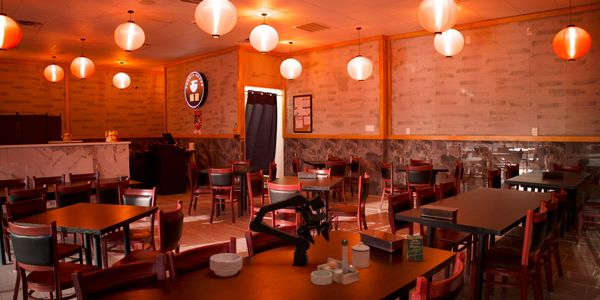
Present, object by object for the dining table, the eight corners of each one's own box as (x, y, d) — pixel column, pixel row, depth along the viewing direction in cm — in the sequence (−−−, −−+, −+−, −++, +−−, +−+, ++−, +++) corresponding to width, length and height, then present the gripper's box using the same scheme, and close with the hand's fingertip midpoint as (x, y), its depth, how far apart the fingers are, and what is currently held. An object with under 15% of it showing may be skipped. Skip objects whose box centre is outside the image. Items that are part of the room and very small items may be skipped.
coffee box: (407, 261, 226) (407, 236, 225) (406, 259, 229) (406, 234, 228) (423, 261, 225) (423, 236, 224) (422, 260, 228) (422, 235, 227)
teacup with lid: (372, 267, 216) (372, 244, 216) (355, 269, 214) (355, 245, 214) (363, 260, 228) (363, 238, 227) (347, 261, 226) (347, 239, 225)
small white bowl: (308, 283, 194) (308, 275, 194) (315, 277, 203) (315, 269, 203) (328, 286, 191) (328, 278, 191) (334, 279, 200) (334, 271, 199)
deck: (317, 274, 207) (317, 265, 206) (332, 270, 212) (331, 262, 212) (344, 284, 193) (344, 275, 192) (359, 280, 198) (359, 271, 198)
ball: (327, 269, 202) (327, 261, 202) (329, 266, 205) (329, 259, 205) (334, 269, 201) (334, 262, 200) (337, 267, 204) (337, 260, 204)
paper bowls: (248, 271, 212) (248, 254, 212) (229, 280, 199) (229, 263, 198) (223, 266, 219) (223, 251, 219) (203, 275, 206) (202, 259, 206)
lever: (319, 265, 206) (319, 233, 205) (331, 262, 211) (331, 231, 210) (345, 274, 193) (345, 240, 192) (356, 271, 198) (356, 237, 197)
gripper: (300, 208, 209) (315, 236, 201) (330, 204, 220) (344, 231, 212) (290, 221, 215) (303, 249, 207) (319, 217, 227) (332, 243, 219)
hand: (321, 242), depth 211 cm, fingers open, 9 cm apart
